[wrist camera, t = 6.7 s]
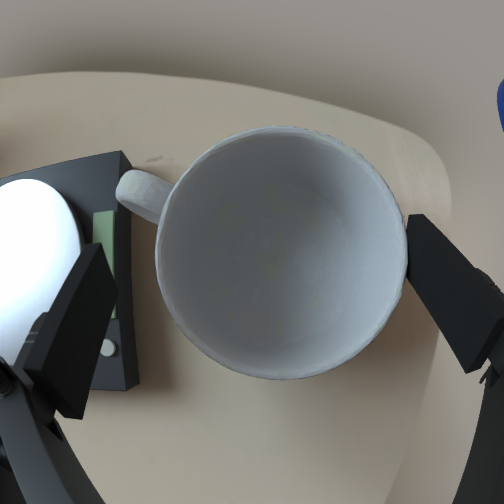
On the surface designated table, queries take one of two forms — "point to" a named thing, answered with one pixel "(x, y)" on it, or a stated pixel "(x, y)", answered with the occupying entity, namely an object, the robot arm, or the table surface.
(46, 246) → the scale pan
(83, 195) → the scale
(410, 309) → the table surface
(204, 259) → the teacup
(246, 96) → the table surface
